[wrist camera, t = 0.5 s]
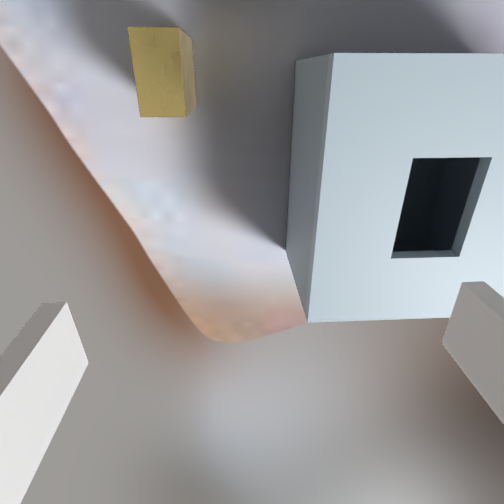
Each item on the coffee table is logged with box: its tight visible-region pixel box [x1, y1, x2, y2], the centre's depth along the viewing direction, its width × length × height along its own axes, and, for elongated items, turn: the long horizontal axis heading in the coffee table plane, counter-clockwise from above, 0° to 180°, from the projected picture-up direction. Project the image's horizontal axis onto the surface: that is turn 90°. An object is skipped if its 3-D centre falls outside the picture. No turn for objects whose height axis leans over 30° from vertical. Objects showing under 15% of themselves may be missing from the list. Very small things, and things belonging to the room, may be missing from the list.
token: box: [127, 27, 197, 117], centre depth 25 cm, size 5×3×8 cm, turn 0°
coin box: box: [286, 53, 504, 322], centre depth 27 cm, size 18×16×12 cm
